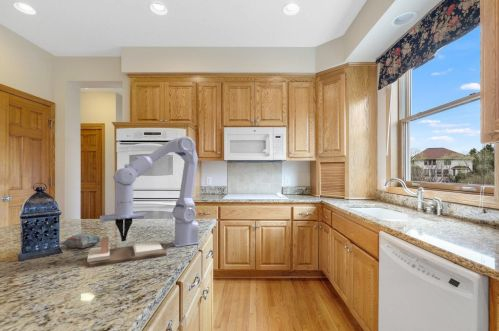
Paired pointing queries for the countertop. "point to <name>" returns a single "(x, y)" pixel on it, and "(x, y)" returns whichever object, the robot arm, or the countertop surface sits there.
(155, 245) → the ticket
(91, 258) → the stub
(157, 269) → the countertop surface
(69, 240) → the packaged food
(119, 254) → the board
